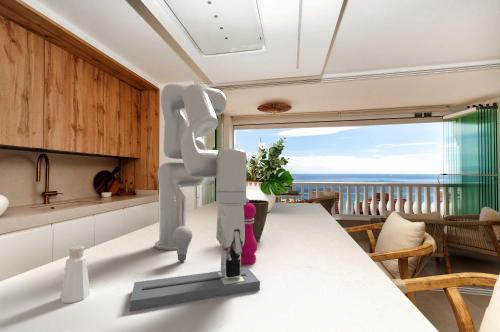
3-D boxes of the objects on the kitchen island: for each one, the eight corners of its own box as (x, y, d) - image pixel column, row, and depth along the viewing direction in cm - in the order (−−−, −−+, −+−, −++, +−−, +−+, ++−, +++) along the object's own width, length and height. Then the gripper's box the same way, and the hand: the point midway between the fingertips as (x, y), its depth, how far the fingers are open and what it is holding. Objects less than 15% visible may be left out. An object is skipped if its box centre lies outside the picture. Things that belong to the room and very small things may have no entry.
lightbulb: (195, 259, 79) (196, 225, 79) (184, 266, 73) (185, 229, 73) (179, 257, 81) (179, 223, 81) (167, 263, 75) (168, 227, 75)
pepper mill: (255, 266, 73) (255, 199, 74) (231, 264, 75) (232, 198, 76) (259, 258, 81) (259, 196, 81) (237, 256, 82) (238, 196, 83)
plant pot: (227, 237, 106) (228, 200, 107) (258, 234, 113) (258, 198, 113) (241, 246, 93) (241, 204, 93) (275, 242, 99) (275, 202, 100)
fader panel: (134, 290, 58) (134, 281, 58) (247, 274, 67) (247, 266, 67) (129, 311, 49) (130, 299, 49) (259, 289, 59) (259, 280, 59)
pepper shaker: (56, 305, 51) (58, 252, 51) (64, 294, 56) (65, 245, 56) (87, 300, 53) (88, 249, 54) (91, 289, 58) (93, 242, 59)
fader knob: (220, 272, 62) (221, 245, 63) (235, 270, 64) (236, 244, 64) (224, 279, 59) (224, 250, 59) (240, 277, 60) (240, 248, 60)
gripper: (209, 195, 68) (209, 262, 68) (224, 202, 53) (223, 289, 52) (236, 195, 71) (235, 259, 70) (257, 201, 55) (257, 284, 55)
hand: (230, 271), depth 61 cm, fingers closed on fader knob, 4 cm apart
